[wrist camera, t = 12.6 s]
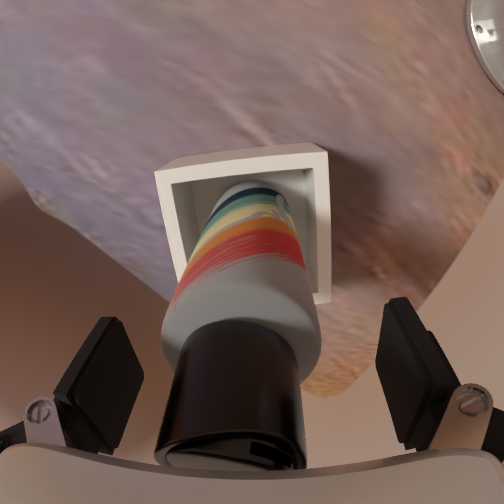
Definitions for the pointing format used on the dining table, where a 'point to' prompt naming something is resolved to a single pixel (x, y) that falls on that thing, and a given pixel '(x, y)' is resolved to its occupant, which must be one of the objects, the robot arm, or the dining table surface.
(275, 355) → the lotion bottle
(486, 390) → the robot arm
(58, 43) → the dining table surface
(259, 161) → the caddy
